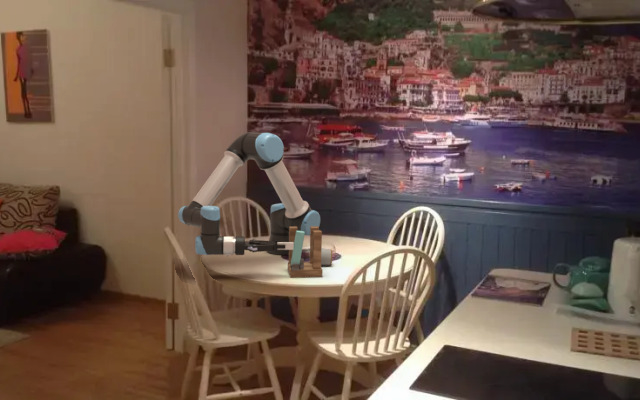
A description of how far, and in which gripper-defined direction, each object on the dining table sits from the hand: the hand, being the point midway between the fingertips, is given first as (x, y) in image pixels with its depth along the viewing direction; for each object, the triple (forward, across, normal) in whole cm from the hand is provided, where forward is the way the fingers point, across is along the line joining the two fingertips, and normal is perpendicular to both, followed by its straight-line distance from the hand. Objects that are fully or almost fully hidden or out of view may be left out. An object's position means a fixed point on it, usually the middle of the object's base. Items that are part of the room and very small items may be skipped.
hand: (293, 246), depth 251 cm
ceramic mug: (+14, -18, -13) cm, 26 cm away
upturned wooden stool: (+5, -4, -12) cm, 14 cm away
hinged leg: (+1, -1, -9) cm, 9 cm away
